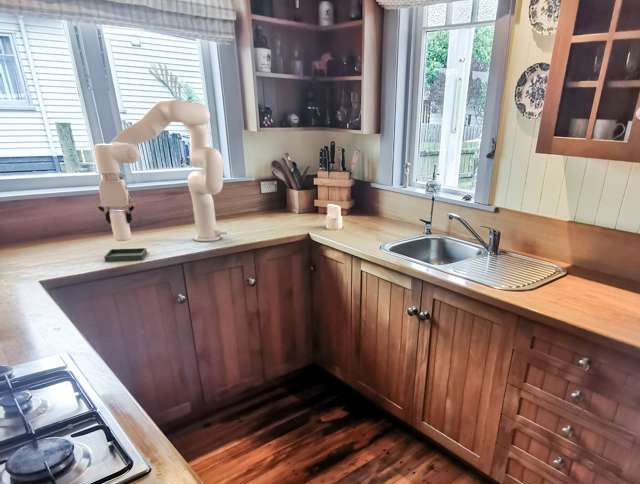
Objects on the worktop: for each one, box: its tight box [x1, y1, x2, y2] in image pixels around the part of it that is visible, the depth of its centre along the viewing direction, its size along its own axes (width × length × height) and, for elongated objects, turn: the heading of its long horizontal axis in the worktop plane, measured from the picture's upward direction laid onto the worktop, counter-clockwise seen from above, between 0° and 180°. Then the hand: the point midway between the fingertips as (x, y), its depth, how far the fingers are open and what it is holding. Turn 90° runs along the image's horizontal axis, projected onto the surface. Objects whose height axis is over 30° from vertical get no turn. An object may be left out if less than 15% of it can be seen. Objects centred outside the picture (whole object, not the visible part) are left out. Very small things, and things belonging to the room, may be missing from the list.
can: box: [109, 208, 132, 242], centre depth 191 cm, size 6×6×12 cm
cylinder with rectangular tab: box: [325, 203, 343, 230], centre depth 256 cm, size 9×9×12 cm
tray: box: [104, 247, 148, 262], centre depth 197 cm, size 14×11×2 cm
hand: (119, 222), depth 191 cm, fingers closed on can, 6 cm apart
